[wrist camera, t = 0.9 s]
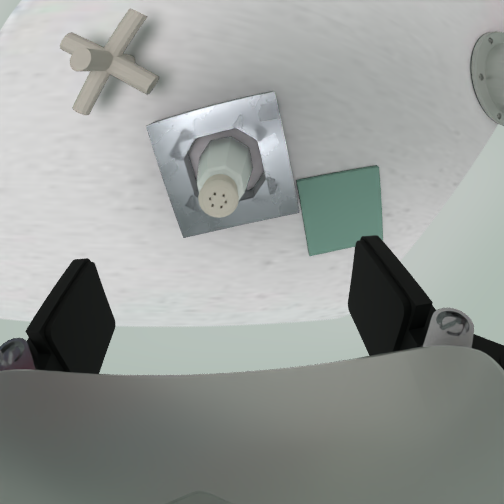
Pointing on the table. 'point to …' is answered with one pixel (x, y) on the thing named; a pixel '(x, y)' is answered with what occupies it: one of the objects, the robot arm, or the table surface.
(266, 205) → the frame
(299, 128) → the table surface
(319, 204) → the mat
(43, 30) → the table surface
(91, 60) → the pipe connector
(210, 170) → the pepper shaker
